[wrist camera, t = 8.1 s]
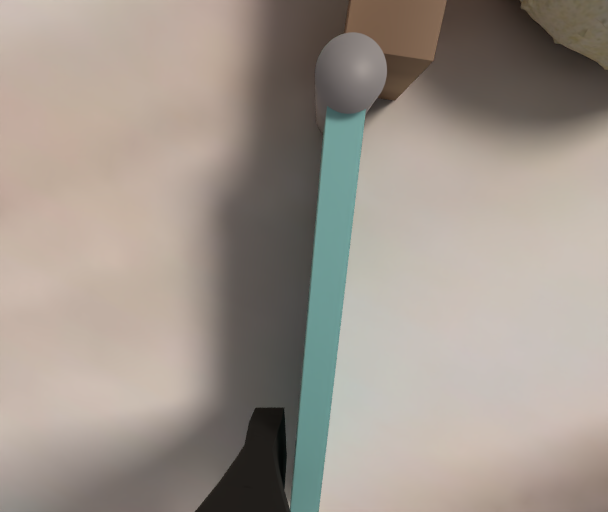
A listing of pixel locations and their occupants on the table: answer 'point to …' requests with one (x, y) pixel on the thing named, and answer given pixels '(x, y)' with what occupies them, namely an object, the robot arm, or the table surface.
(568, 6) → the sea urchin shell
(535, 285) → the table surface
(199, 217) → the table surface
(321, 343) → the teal plank
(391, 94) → the bay
